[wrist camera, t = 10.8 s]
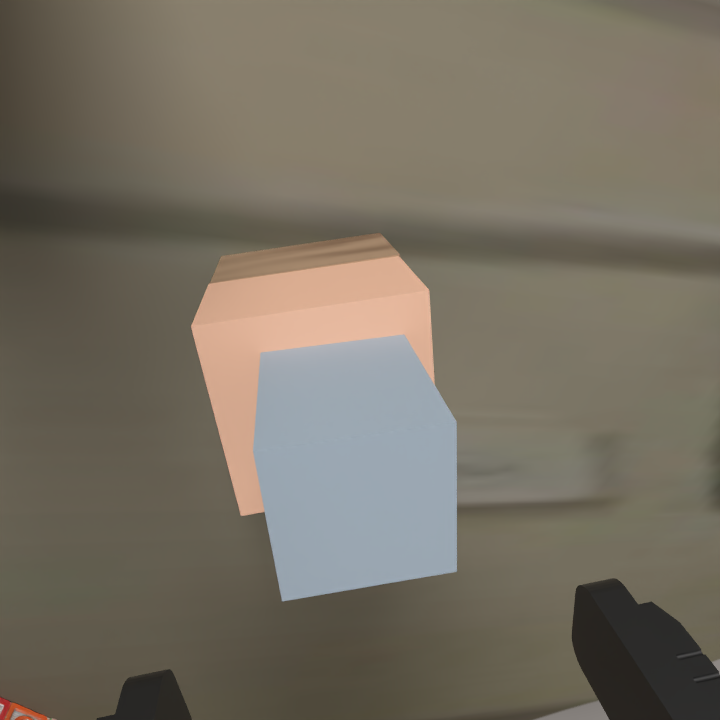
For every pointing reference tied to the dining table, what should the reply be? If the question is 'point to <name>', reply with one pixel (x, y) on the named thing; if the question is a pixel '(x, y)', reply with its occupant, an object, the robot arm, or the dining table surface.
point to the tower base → (303, 257)
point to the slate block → (355, 466)
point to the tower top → (296, 338)
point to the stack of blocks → (18, 712)
